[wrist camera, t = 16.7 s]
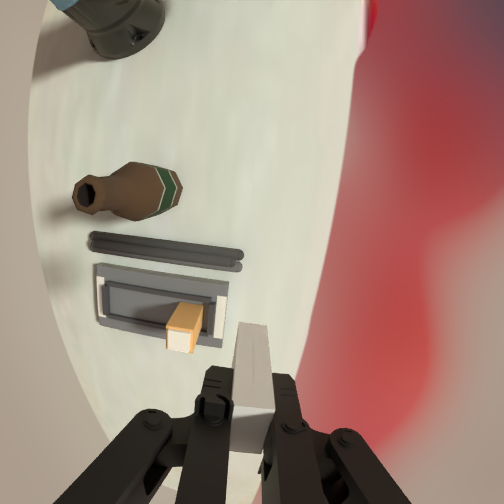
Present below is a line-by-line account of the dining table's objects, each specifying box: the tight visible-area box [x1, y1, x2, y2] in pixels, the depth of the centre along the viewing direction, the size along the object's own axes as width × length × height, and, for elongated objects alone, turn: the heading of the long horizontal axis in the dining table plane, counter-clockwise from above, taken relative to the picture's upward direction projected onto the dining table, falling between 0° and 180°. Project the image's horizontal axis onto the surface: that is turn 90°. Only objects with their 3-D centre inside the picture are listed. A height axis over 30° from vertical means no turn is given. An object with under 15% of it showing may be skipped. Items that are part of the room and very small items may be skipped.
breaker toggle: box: [166, 302, 203, 353], centre depth 44 cm, size 4×4×10 cm
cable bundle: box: [90, 231, 244, 272], centre depth 47 cm, size 28×4×3 cm, turn 83°
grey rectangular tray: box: [97, 263, 229, 348], centre depth 49 cm, size 12×24×3 cm, turn 83°
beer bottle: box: [72, 162, 183, 221], centre depth 34 cm, size 8×8×24 cm
